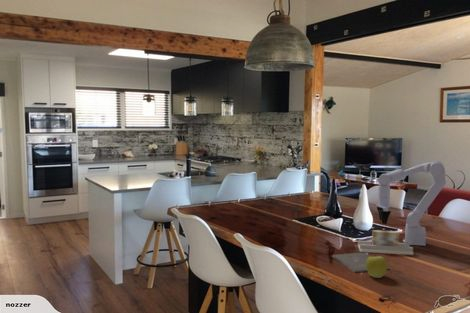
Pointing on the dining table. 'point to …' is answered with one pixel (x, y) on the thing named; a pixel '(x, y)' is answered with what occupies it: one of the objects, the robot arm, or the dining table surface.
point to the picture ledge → (385, 248)
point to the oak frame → (385, 238)
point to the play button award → (353, 261)
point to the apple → (376, 266)
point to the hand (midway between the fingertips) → (383, 222)
